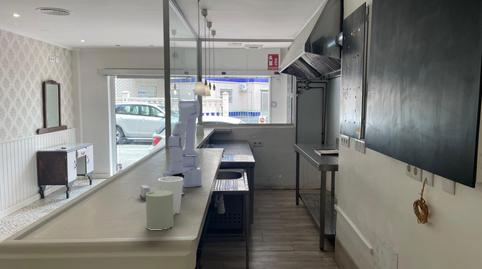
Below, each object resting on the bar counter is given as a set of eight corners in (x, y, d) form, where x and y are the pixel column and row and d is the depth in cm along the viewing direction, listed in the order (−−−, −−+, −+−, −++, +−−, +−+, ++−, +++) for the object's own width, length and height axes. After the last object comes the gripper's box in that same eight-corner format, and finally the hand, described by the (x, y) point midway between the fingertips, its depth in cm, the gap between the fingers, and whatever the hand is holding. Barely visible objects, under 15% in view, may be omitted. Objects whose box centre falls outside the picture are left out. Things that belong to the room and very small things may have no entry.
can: (148, 222, 125) (148, 188, 124) (175, 221, 126) (174, 188, 125) (143, 231, 116) (143, 195, 115) (172, 230, 117) (171, 194, 116)
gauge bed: (178, 191, 171) (177, 180, 171) (184, 195, 162) (184, 184, 162) (140, 195, 163) (139, 184, 162) (144, 200, 154) (144, 189, 154)
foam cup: (162, 208, 142) (161, 176, 141) (185, 208, 142) (184, 176, 140) (155, 215, 132) (155, 181, 131) (180, 216, 132) (180, 181, 131)
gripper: (183, 158, 173) (183, 186, 174) (158, 162, 162) (159, 191, 163) (192, 159, 168) (193, 188, 169) (168, 163, 157) (168, 193, 158)
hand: (177, 190), depth 166 cm, fingers closed
